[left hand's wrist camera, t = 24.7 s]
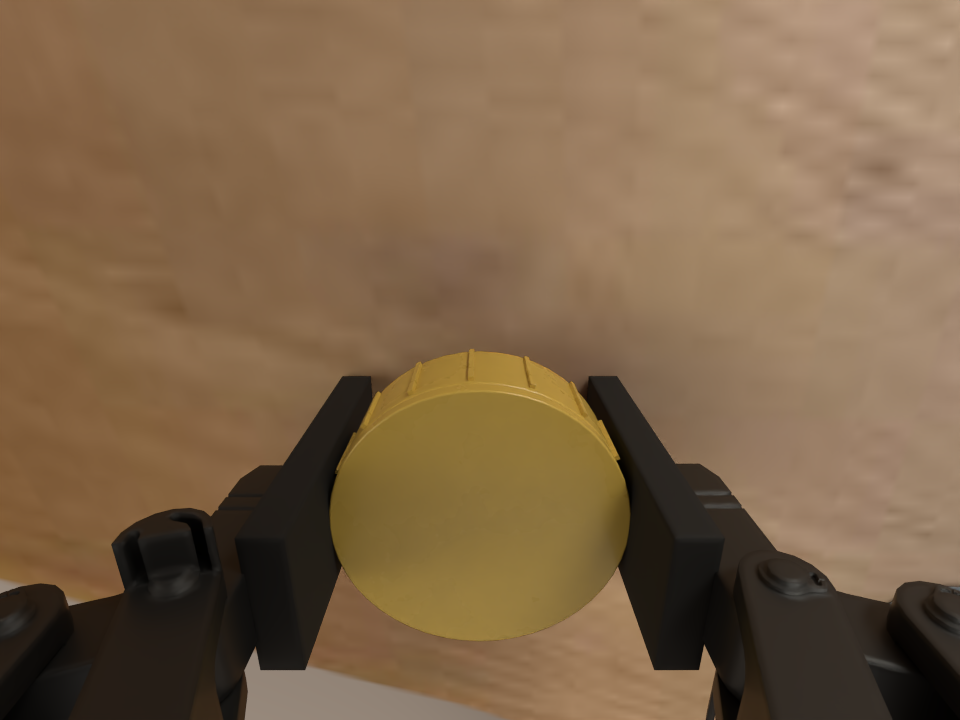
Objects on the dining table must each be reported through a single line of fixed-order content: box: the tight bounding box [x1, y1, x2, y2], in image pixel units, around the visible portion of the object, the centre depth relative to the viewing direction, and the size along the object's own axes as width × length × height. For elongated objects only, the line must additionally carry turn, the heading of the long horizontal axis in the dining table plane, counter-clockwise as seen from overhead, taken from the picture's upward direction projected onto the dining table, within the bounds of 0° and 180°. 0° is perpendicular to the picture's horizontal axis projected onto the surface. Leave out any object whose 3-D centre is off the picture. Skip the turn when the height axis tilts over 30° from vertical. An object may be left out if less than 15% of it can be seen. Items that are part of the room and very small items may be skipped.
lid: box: [329, 349, 631, 641], centre depth 11 cm, size 6×6×2 cm
